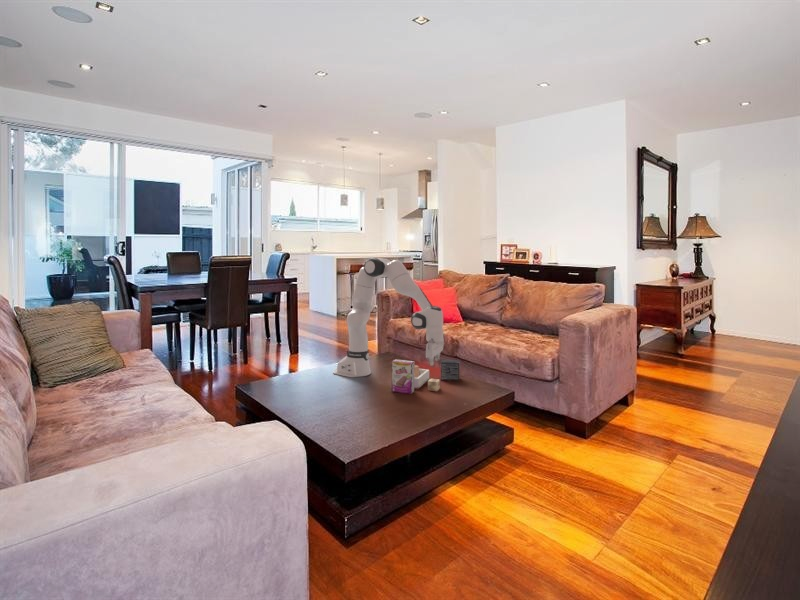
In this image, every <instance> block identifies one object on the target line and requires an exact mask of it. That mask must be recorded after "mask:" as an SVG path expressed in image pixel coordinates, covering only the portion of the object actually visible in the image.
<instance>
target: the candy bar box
mask: <svg viewBox="0 0 800 600" xmlns="http://www.w3.org/2000/svg"><path fill="white" fill-rule="evenodd" d="M415 363H416V362H415V360H414V361H412V360H403V359H393V360H392V361H391V392H393V393H400V394H401V393H402V394H409V395H412V394H413V393H414V392H415V388H414V369H415V365H416V364H415Z"/></svg>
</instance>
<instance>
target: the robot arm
mask: <svg viewBox="0 0 800 600" xmlns="http://www.w3.org/2000/svg"><path fill="white" fill-rule="evenodd" d="M378 278H380V279H383V278H388V279H389V281H390V283H391V284H392V288H393V289H394V291H395V292H396V293H398V294H399V295H402V296H406V297H409V298H410V299H413V300H415V301H416V303H417V305H418V306H419V308H420V310H419V311H416V312H414V313H412V315H411V318H410V323H411V326H412V328H414V329H415V330H426V331H425V332H426V333H425V339H426V342H428V343H426V344H425V358H426V359H428V360H429V365H430V366H434V365H435V362H438V361H440V355H441V352H443V351H444V345H445V344H444V343H445V337H446V334H445V333H444V329H443V326H444V313H443V310H442V308H441V307H439V306H438V305H433V304H432V303H431V301H430V300H429V299H428V297H427V295H426V294H425V293H424V291H423V289H422V288H421V287H419V285H418V284H417V283H416V282H415V281H414V279H413V278H412V277H411V274H410V273H409V271H408V269H407V267H406V266H405V265H404V264H403V262H402V261H401V260H399V259H395V260H392V259H389V258H384V257H370V258H368V259H366V260H365V262H364V264H363V266H362V267H361V268H360V269H359V272H358V273H357V277H356V280H355V285H354V290H353V295H352V299H353V300H352V309H351V310H350V312H348V314H347V317H346V324H347V326H346V327H347V331H348V344H349V345H348V346H349V349H348V350H347V351H345V354H346V356H344V357H343V358H341V359H340V360H339V361H338V362H337V364H336V365H337V366H336V368H335V369H334V370H333V371H332V372H333V373H332V374H334V375H338V376H343V377H346V378H357V377H367V376H370V375H371V374H372V372H371V368H370V367H371V366H370V362H369V360H370V351H369V335H368V329H367V323H368V322H369V320H370V318H371V317H370V316H371V311H372V310H371V309H372V301H373V295H374V292H375V291H374V290H375V287H376V281H377V279H378ZM434 357H435V358H434Z"/></svg>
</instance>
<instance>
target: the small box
mask: <svg viewBox="0 0 800 600" xmlns="http://www.w3.org/2000/svg"><path fill="white" fill-rule="evenodd" d="M449 380H450V381H452V382H453V381H455V382H459V381H460V360H455V359H454V360H453V359H452V360H450V359H441V360H440V381H449Z"/></svg>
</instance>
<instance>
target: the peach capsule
mask: <svg viewBox="0 0 800 600" xmlns="http://www.w3.org/2000/svg"><path fill="white" fill-rule="evenodd" d="M419 369H420V366H419V365H417V364H415V369H414V377H415V378H418V377H419Z"/></svg>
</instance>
